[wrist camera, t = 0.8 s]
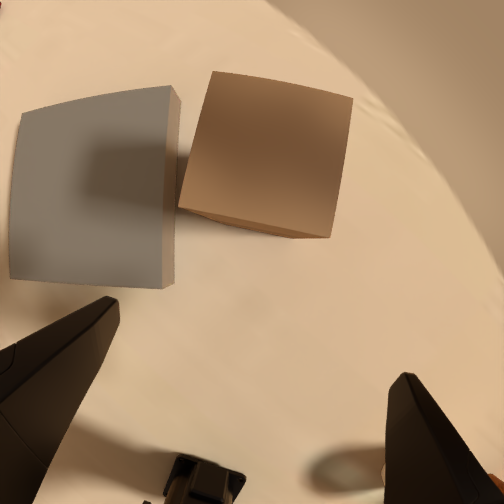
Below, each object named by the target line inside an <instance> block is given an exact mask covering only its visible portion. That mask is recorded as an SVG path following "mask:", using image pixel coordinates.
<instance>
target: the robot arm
mask: <svg viewBox="0 0 504 504" xmlns="http://www.w3.org/2000/svg"><path fill="white" fill-rule="evenodd" d="M119 323H120V311H119V302H118V300H117V299H115V298H112V297H109V296H104V297H102V298H100V299H98V300H96V301H94V302H92V303H91V304H89V305H87V306H85V307H83V308H81V309H79V310H77V311H75V312H73V313H71V314H69V315H67V316H65V317H63V318H61V319H59V320H58V321H56V322H54V323H52V324H50V325H48V326H46V327H44V328H42V329H40V330H38V331H37V332H35V333H33V334H31V335H29V336H27V337H25V338H23V339H21V340H20V341H18V342H16V343H14V344H12V345H10V346H8V347H6V348H4V349H2V350H0V504H32V503H33V501H34V499H35V497H36V494H37V492H38V490H39V488H40V485H41V483H42V481H43V479H44V477H45V474H46V472H47V470H48V468H49V466H50V463H51V461H52V459H53V457H54V455H55V453H56V451H57V449H58V447H59V445H60V443H61V441H62V439H63V437H64V435H65V433H66V431H67V429H68V427H69V425H70V423H71V421H72V419H73V417H74V415H75V414H76V412H77V410H78V408H79V406H80V404H81V402H82V400H83V398H84V397H85V395H86V393H87V391H88V389H89V387H90V386H91V384H92V382H93V380H94V378H95V377H96V375H97V373H98V371H99V369H100V367H101V365H102V363H103V361H104V359H105V356H106V354H107V352H108V349H109V347H110V345H111V342H112V340H113V338H114V335H115V333H116V331H117V328H118V326H119ZM180 459H183V460H180ZM240 478H241V479H240ZM245 482H246V476H245V475H243V474H240V473H237V472H233V471H230V470H227V469H223V468H220V467H217V466H214V465H211V464H208V463H205V462H202V461H199V460H196V459H194V458H191V457H188V456H186V455H182V454H180V455H178V456H177V458H176V461H175V463H174V466H173V469H172V471H171V474H170V476H169V479H168V481H167V484H166V487H165V489H164V492H163V495H164V496H165V497H166V499H165V502H164V504H233V502H234V501H235V499H236V497H237V496H238V494H239V492H240V491H241V489H242V487H243V486H244V484H245ZM143 504H151V502H148V501H145V500H144V502H143ZM384 504H504V494H503V493H502V492H501V490H500V489H499V488H498V487H497V485H496V484H495V483H494V482H493V480H492V479H491V478H490V477H489V475H488V474H487V473H486V471H485V470H484V469H483V468H482V466H481V465H480V463H479V462H478V461H477V459H476V458H475V456H474V455H473V453H472V452H471V451H470V449H469V448H468V446H467V445H466V443H465V442H464V440H463V439H462V438H461V436H460V435H459V433H458V432H457V430H456V429H455V428H454V426H453V425H452V423H451V422H450V421H449V419H448V418H447V416H446V415H445V414H444V412H443V411H442V410H441V408H440V407H439V405H438V404H437V403H436V401H435V400H434V399H433V397H432V396H431V395H430V393H429V392H428V391H427V389H426V388H425V387H424V385H423V384H422V383H421V381H420V380H419V379H418V377H417V376H416V375H415V374H414V373H408V372H403V373H402V374H401V375H400V376H399V377H398V378H397V380H396V381H395V382H394V383H393V384H392V386H391V387H390V389H389V393H388V408H387V420H386V433H385V492H384Z"/></svg>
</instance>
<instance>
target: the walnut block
mask: <svg viewBox="0 0 504 504" xmlns="http://www.w3.org/2000/svg"><path fill="white" fill-rule="evenodd" d="M352 104H353V98H350V97H346V96H343V95H339V94H335V93H331V92H327V91H323V90H319V89H315V88H310V87H306V86H301V85H297V84H292V83H287V82H282V81H277V80H271V79H265V78H259V77H253V76H247V75H240V74H233V73H225V72H217V71H213V72H212V75H211V79H210V82H209V85H208V89H207V92H206V96H205V99H204V103H203V106H202V110H201V114H200V117H199V121H198V125H197V128H196V132H195V136H194V140H193V144H192V148H191V152H190V156H189V160H188V164H187V168H186V172H185V177H184V181H183V185H182V190H181V194H180V199H179V203H178V207H180V208H183V209H186V210H188V211H191V212H194V213H196V214H199V215H201V216H204V217H207V218H209V219H212V220H215V221H217V222H220V223H222V224H226V225H231V226H235V227H240V228H245V229H250V230H255V231H260V232H264V233H269V234H274V235H278V236H283V237H288V238H292V239H297V238H330V236H331V231H332V226H333V221H334V216H335V211H336V205H337V200H338V194H339V189H340V183H341V177H342V171H343V165H344V159H345V153H346V147H347V140H348V133H349V126H350V119H351V112H352Z"/></svg>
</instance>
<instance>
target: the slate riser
mask: <svg viewBox="0 0 504 504" xmlns="http://www.w3.org/2000/svg"><path fill="white" fill-rule="evenodd" d="M180 109H181V100H180V99H179V97H178V95H177V94H176V92H175V90H174V89H173V87H172V85H170V86H160V87H151V88H143V89H135V90H128V91H122V92H115V93H109V94H104V95H98V96H93V97H88V98H83V99H78V100H73V101H69V102H64V103H60V104H56V105H52V106H48V107H44V108H40V109H36V110H33V111H29V112H26V113H22V116H21V121H20V127H19V132H18V138H17V145H16V151H15V159H14V167H13V176H12V186H11V199H10V219H9V266H10V279H18V280H30V281H41V282H54V283H67V284H80V285H95V286H111V287H129V288H148V289H164V288H166V287H168V286H170V285H172V284H174V231H175V193H176V169H177V151H178V135H179V122H180Z"/></svg>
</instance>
